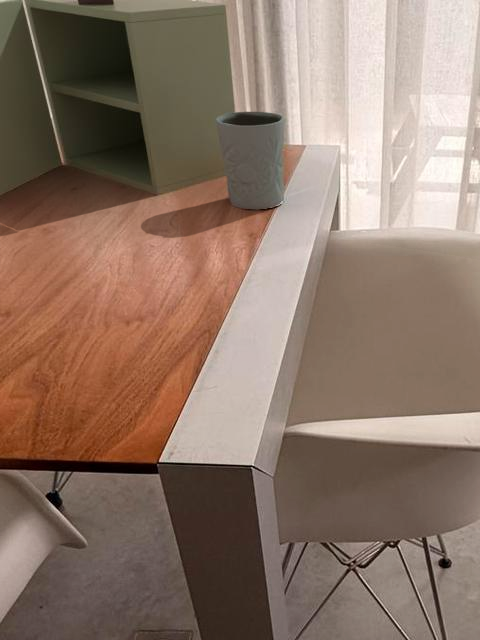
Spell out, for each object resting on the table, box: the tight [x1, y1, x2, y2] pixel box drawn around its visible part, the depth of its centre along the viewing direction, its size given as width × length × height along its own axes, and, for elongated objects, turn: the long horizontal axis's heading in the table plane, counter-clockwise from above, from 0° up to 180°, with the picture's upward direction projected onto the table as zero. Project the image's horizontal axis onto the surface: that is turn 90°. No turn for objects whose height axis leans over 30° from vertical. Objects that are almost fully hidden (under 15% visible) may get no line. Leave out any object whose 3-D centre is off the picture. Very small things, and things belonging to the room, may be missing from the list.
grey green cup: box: [216, 111, 285, 210], centre depth 105 cm, size 10×10×12 cm
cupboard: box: [23, 0, 236, 196], centre depth 113 cm, size 18×26×24 cm
